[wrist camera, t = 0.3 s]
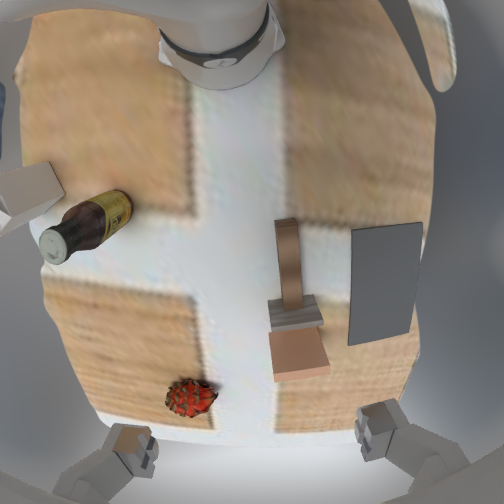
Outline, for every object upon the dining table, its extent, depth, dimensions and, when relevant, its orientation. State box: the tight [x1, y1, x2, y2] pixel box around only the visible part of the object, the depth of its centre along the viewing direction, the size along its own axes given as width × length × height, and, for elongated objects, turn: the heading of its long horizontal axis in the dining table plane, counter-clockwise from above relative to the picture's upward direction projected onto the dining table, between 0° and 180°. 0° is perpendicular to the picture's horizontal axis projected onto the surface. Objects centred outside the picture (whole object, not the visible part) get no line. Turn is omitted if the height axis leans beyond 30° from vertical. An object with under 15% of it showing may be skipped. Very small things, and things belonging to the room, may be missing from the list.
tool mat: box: [348, 222, 423, 346], centre depth 51 cm, size 24×14×1 cm, turn 7°
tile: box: [269, 326, 330, 382], centre depth 49 cm, size 2×9×11 cm, turn 97°
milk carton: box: [0, 162, 65, 237], centre depth 33 cm, size 7×7×19 cm
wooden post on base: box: [268, 218, 323, 333], centre depth 45 cm, size 15×8×8 cm, turn 7°
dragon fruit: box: [165, 380, 218, 418], centre depth 56 cm, size 8×8×12 cm
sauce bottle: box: [39, 190, 133, 265], centre depth 35 cm, size 7×6×20 cm
